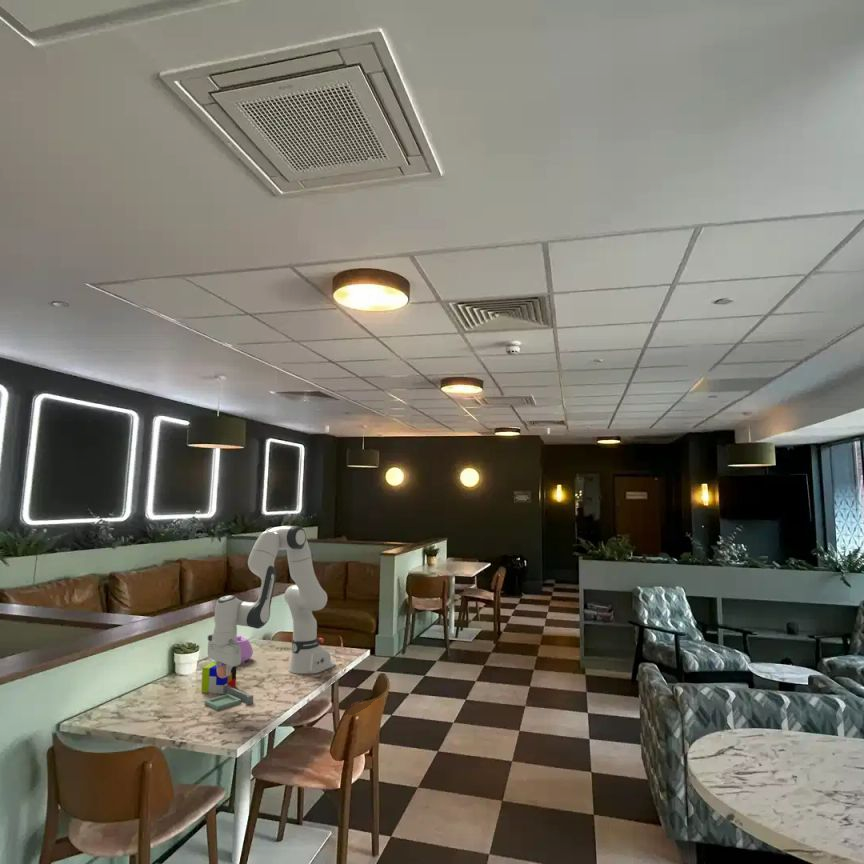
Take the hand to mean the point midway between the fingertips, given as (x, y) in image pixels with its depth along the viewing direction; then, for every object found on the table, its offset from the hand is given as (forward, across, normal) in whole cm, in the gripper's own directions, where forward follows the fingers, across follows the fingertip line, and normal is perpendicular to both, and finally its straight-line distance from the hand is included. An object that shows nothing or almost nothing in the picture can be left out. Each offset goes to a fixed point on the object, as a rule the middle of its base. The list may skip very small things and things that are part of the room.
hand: (223, 673), depth 225 cm
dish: (+12, 0, 0) cm, 12 cm away
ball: (-1, 0, 0) cm, 1 cm away
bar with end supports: (+12, +1, -7) cm, 14 cm away
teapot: (+12, +48, -34) cm, 60 cm away
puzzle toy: (+12, +18, -8) cm, 23 cm away
